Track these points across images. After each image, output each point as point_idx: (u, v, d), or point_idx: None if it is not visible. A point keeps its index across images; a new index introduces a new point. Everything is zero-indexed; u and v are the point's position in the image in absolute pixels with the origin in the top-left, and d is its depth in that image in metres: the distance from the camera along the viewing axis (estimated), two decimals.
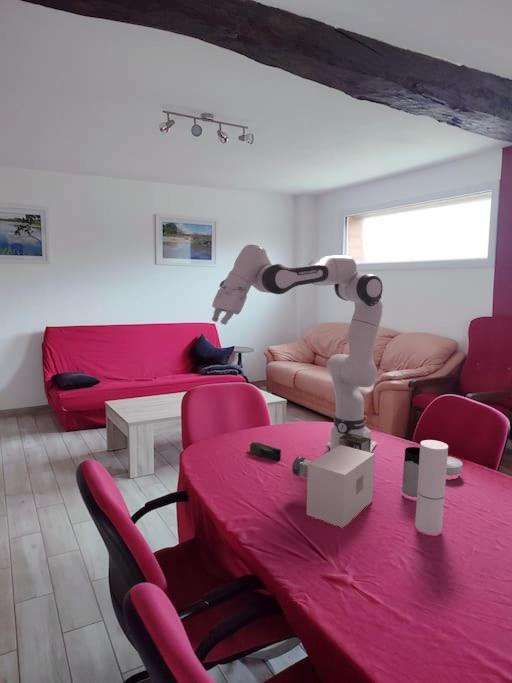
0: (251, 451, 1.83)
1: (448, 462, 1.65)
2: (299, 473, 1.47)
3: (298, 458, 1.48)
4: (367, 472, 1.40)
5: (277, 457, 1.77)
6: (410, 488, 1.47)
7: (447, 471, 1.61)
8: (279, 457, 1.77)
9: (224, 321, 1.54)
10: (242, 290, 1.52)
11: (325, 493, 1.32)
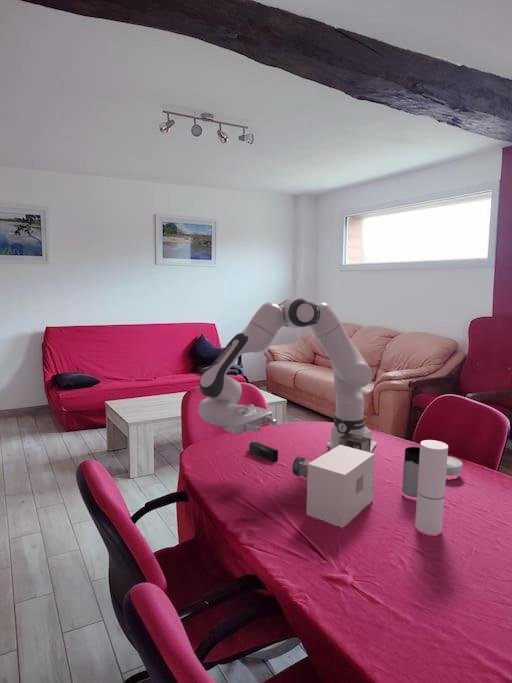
0: (250, 450, 1.84)
1: (448, 462, 1.65)
2: (299, 473, 1.47)
3: (298, 458, 1.48)
4: (367, 472, 1.40)
5: (274, 457, 1.76)
6: (410, 488, 1.47)
7: (447, 471, 1.61)
8: (276, 457, 1.77)
9: (255, 429, 1.52)
10: None
11: (325, 493, 1.32)
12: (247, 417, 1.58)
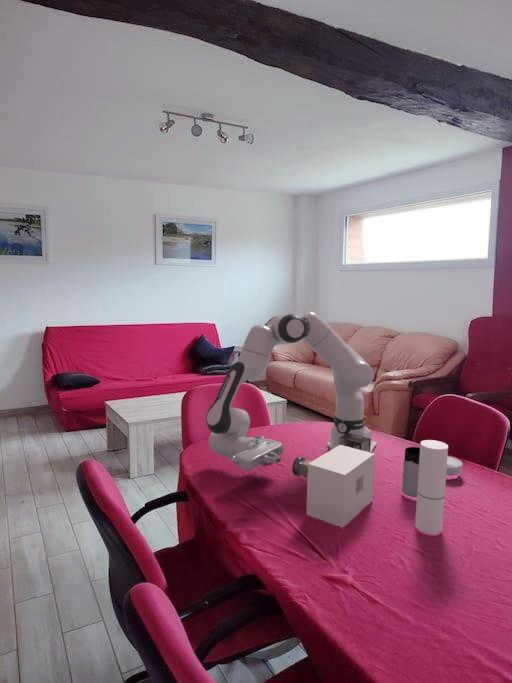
0: None
1: (448, 462, 1.65)
2: (299, 473, 1.47)
3: (298, 458, 1.48)
4: (367, 472, 1.40)
5: None
6: (410, 488, 1.47)
7: (447, 471, 1.61)
8: None
9: (273, 461, 1.54)
10: None
11: (325, 493, 1.32)
12: (258, 451, 1.57)
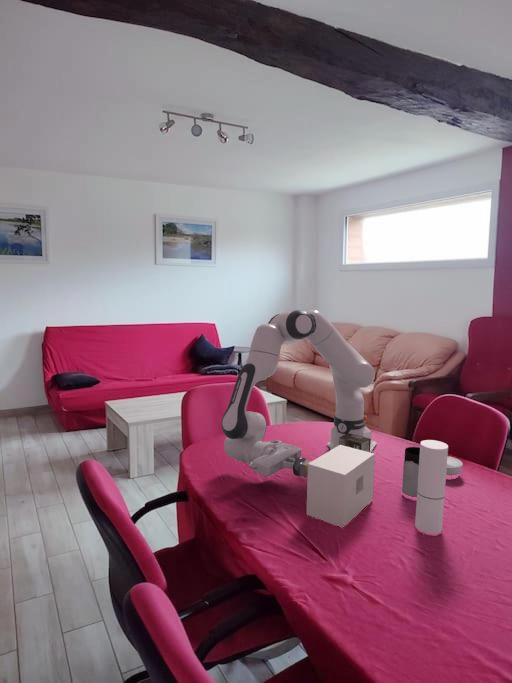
0: None
1: (448, 462, 1.65)
2: (300, 473, 1.47)
3: (299, 458, 1.48)
4: (367, 472, 1.40)
5: None
6: (410, 488, 1.47)
7: (447, 471, 1.61)
8: None
9: None
10: None
11: (325, 493, 1.32)
12: (276, 456, 1.53)
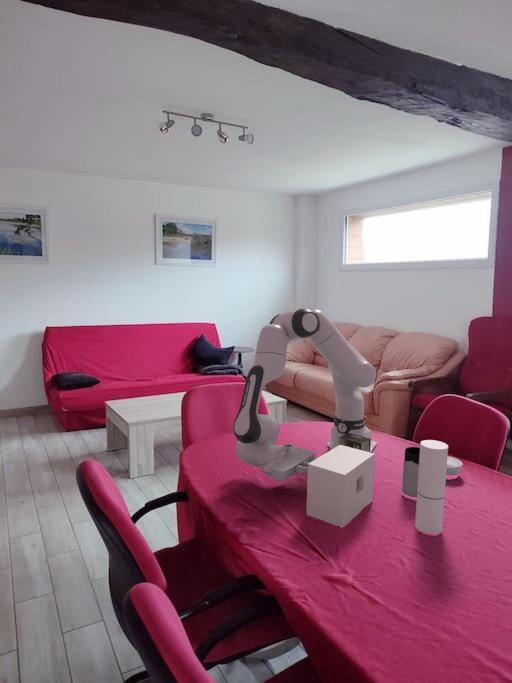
0: None
1: (448, 462, 1.65)
2: None
3: None
4: (367, 472, 1.40)
5: None
6: (410, 488, 1.47)
7: (447, 471, 1.61)
8: None
9: None
10: None
11: (325, 493, 1.32)
12: (290, 461, 1.49)
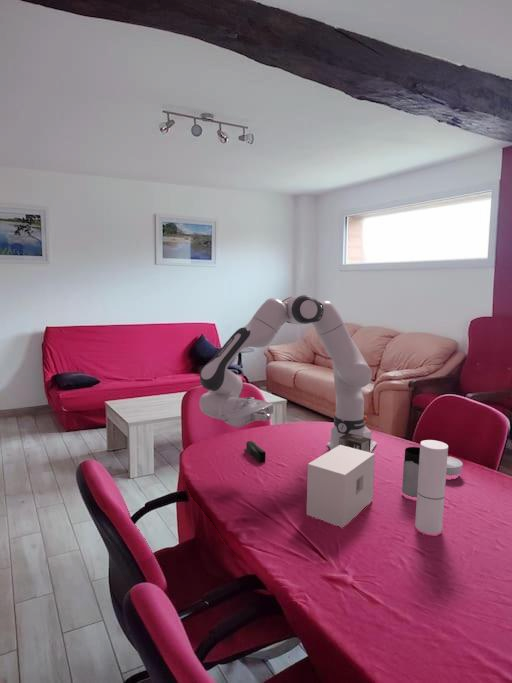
0: (246, 449, 1.85)
1: (448, 462, 1.65)
2: None
3: None
4: (367, 472, 1.40)
5: (260, 459, 1.75)
6: (410, 488, 1.47)
7: (447, 471, 1.61)
8: (263, 459, 1.75)
9: (263, 418, 1.55)
10: None
11: (325, 493, 1.32)
12: (248, 409, 1.58)
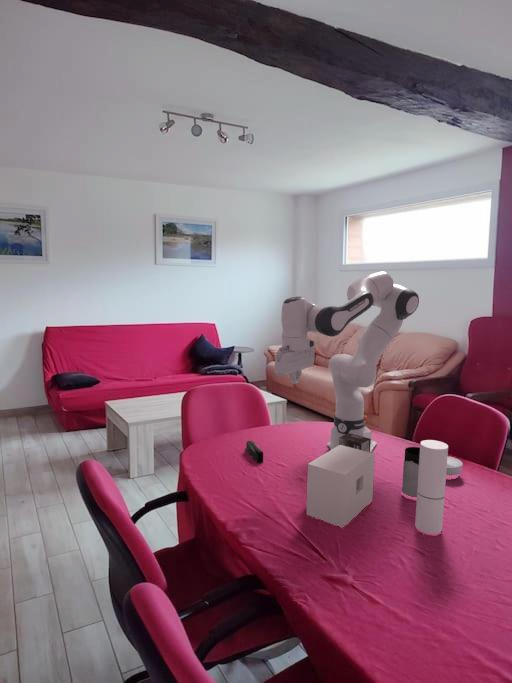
0: (246, 449, 1.86)
1: (448, 462, 1.65)
2: None
3: None
4: (367, 472, 1.40)
5: (258, 459, 1.75)
6: (410, 488, 1.47)
7: (447, 471, 1.61)
8: (260, 459, 1.75)
9: (292, 381, 1.60)
10: None
11: (325, 493, 1.32)
12: (296, 363, 1.58)
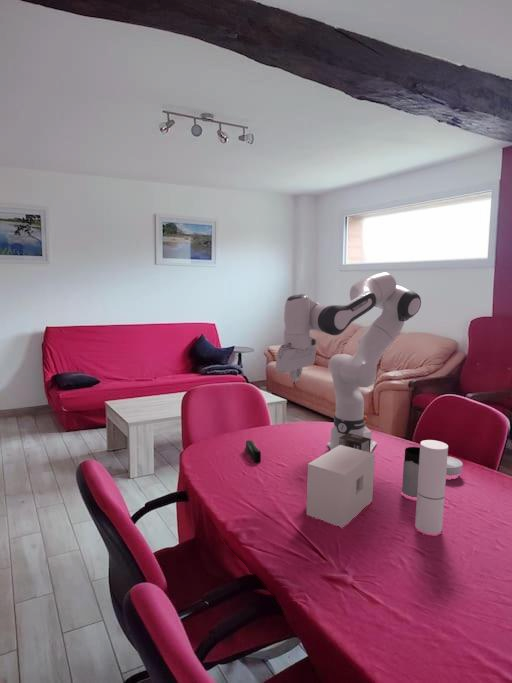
0: (246, 448, 1.86)
1: (448, 462, 1.65)
2: None
3: None
4: (367, 472, 1.40)
5: (255, 459, 1.75)
6: (410, 488, 1.47)
7: (447, 471, 1.61)
8: (258, 459, 1.75)
9: (293, 379, 1.60)
10: None
11: (325, 493, 1.32)
12: (297, 361, 1.58)
